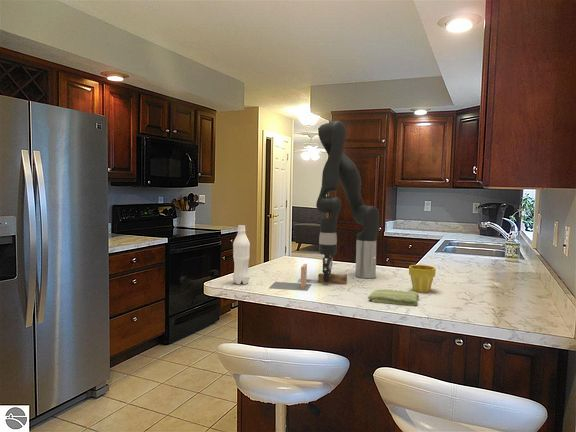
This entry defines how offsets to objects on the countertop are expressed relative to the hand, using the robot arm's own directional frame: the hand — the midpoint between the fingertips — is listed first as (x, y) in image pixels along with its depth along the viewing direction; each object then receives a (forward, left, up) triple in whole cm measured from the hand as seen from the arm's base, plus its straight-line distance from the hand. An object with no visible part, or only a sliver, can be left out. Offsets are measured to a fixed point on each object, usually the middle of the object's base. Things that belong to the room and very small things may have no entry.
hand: (327, 279), depth 183 cm
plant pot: (-39, +2, -2) cm, 39 cm away
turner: (+2, 0, -2) cm, 3 cm away
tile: (+8, +11, -1) cm, 14 cm away
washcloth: (-27, +20, -2) cm, 34 cm away
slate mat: (+14, +11, -2) cm, 18 cm away
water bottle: (+36, +9, -2) cm, 37 cm away
